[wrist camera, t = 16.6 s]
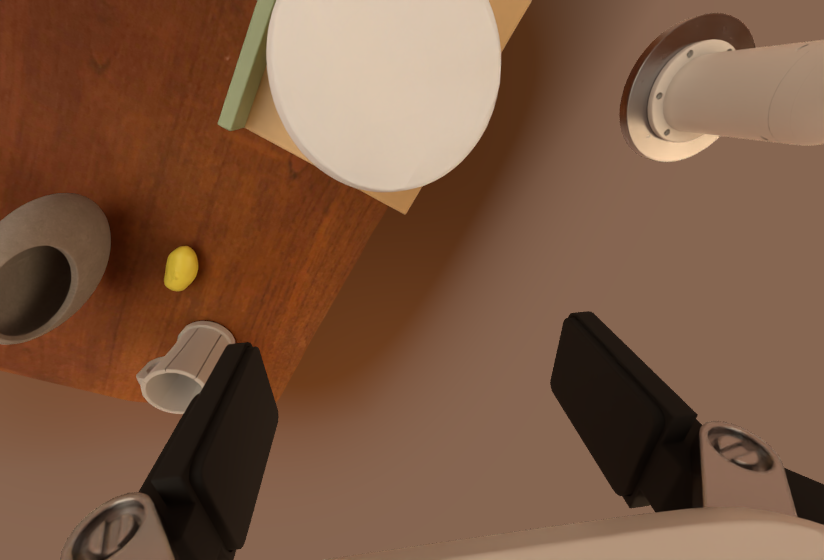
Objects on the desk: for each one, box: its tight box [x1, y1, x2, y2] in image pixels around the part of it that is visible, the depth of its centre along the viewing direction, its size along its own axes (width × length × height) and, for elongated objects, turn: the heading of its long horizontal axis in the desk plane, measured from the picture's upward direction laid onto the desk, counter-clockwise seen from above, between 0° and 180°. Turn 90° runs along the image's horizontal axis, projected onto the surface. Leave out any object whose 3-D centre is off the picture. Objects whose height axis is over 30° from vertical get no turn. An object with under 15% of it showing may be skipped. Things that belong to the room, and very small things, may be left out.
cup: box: [136, 321, 235, 414], centre depth 55 cm, size 10×9×12 cm
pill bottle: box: [266, 0, 501, 192], centre depth 12 cm, size 6×6×12 cm
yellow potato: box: [164, 246, 198, 292], centre depth 51 cm, size 4×8×4 cm, turn 147°
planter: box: [0, 193, 111, 344], centre depth 41 cm, size 18×7×19 cm, turn 154°
